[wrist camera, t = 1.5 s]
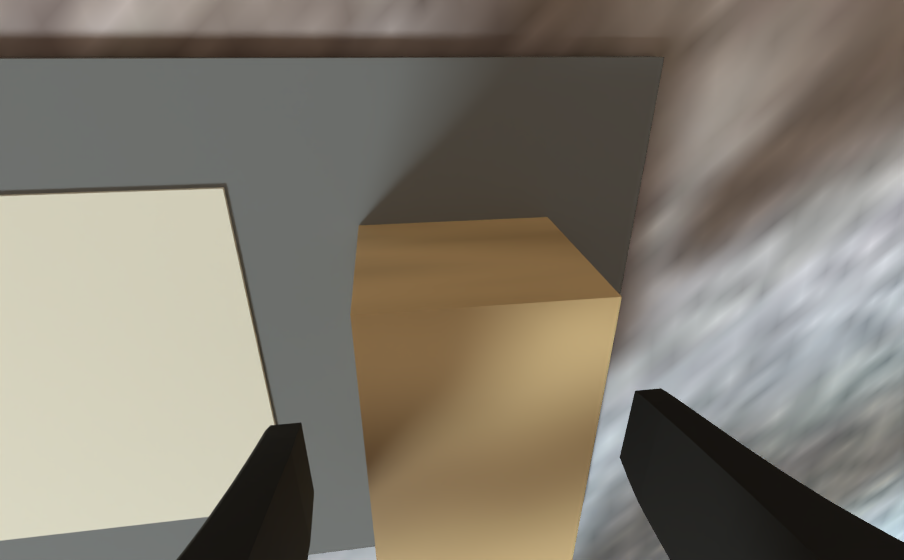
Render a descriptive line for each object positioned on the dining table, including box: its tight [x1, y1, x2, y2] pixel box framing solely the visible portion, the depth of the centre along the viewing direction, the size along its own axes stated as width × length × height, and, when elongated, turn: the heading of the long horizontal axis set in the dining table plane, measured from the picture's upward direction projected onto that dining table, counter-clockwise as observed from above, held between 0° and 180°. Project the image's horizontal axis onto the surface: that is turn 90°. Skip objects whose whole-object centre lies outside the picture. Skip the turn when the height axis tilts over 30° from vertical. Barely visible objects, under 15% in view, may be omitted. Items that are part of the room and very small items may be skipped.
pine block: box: [350, 217, 622, 560], centre depth 11 cm, size 8×4×4 cm, turn 0°
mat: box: [0, 57, 664, 560], centre depth 13 cm, size 15×20×1 cm
